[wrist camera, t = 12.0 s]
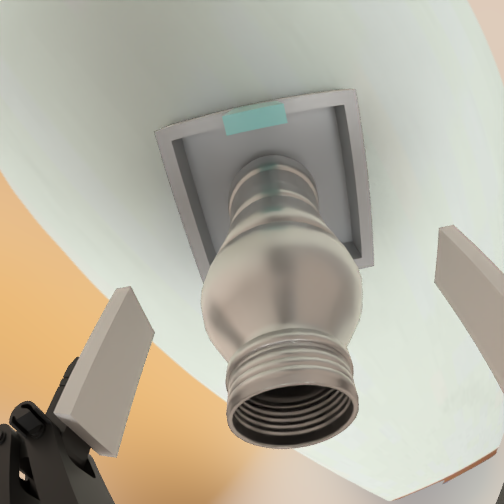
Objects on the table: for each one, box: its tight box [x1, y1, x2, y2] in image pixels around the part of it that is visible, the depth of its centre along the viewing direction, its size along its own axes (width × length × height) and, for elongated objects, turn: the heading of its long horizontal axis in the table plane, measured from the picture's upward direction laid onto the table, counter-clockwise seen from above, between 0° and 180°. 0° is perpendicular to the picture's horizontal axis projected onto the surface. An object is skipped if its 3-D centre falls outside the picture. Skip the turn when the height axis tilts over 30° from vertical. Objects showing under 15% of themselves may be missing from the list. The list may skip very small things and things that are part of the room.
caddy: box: [154, 89, 374, 284], centre depth 22 cm, size 14×14×10 cm
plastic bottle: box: [201, 155, 363, 449], centre depth 17 cm, size 6×7×20 cm
